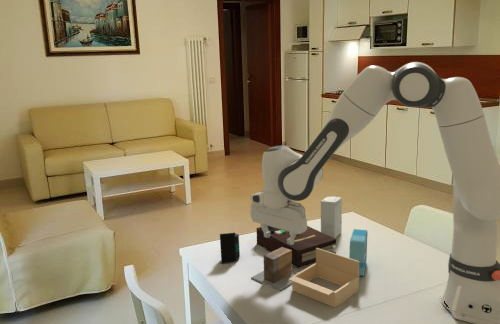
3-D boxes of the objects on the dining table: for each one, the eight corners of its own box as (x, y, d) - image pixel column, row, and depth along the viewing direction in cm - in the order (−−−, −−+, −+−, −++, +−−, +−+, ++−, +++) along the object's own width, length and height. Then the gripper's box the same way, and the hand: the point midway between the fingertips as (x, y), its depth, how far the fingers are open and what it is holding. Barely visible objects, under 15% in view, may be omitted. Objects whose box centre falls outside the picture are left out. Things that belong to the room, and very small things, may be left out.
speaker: (237, 264, 157) (235, 234, 156) (221, 264, 158) (219, 234, 157) (241, 256, 165) (240, 228, 163) (226, 256, 166) (224, 228, 164)
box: (291, 273, 149) (291, 250, 147) (273, 283, 143) (273, 259, 141) (282, 269, 152) (282, 246, 150) (264, 279, 145) (263, 255, 144)
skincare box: (334, 240, 176) (335, 202, 173) (319, 237, 179) (320, 200, 176) (341, 232, 183) (342, 196, 180) (327, 230, 186) (328, 194, 183)
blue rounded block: (363, 277, 146) (364, 242, 143) (348, 276, 147) (349, 241, 145) (366, 261, 157) (367, 228, 154) (352, 260, 158) (353, 227, 156)
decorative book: (299, 251, 149) (250, 224, 174) (299, 273, 151) (250, 243, 176) (343, 238, 159) (291, 214, 184) (343, 258, 161) (291, 232, 186)
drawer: (358, 290, 138) (359, 261, 136) (330, 311, 127) (330, 279, 125) (316, 275, 148) (316, 247, 146) (287, 293, 138) (286, 263, 136)
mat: (304, 276, 148) (304, 275, 147) (280, 290, 139) (280, 289, 139) (275, 265, 156) (275, 264, 156) (251, 278, 147) (251, 277, 147)
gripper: (311, 201, 137) (311, 245, 140) (259, 190, 150) (261, 230, 153) (298, 207, 132) (299, 252, 135) (246, 195, 146) (248, 236, 149)
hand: (278, 240), depth 144 cm, fingers open, 8 cm apart
